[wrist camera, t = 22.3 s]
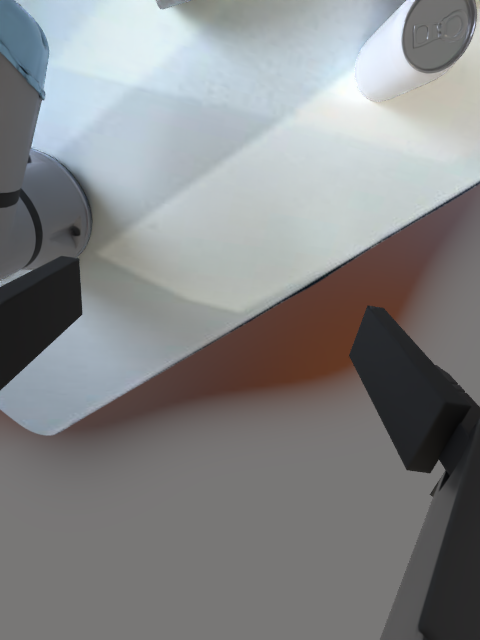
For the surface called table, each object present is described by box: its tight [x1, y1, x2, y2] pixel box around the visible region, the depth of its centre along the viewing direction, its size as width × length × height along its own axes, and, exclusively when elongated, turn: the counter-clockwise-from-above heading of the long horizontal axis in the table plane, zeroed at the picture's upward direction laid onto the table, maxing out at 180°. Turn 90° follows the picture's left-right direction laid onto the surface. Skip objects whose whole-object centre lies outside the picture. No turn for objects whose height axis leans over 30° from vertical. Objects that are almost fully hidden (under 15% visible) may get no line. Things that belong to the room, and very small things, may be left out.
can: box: [355, 0, 477, 102], centre depth 31 cm, size 6×6×12 cm
